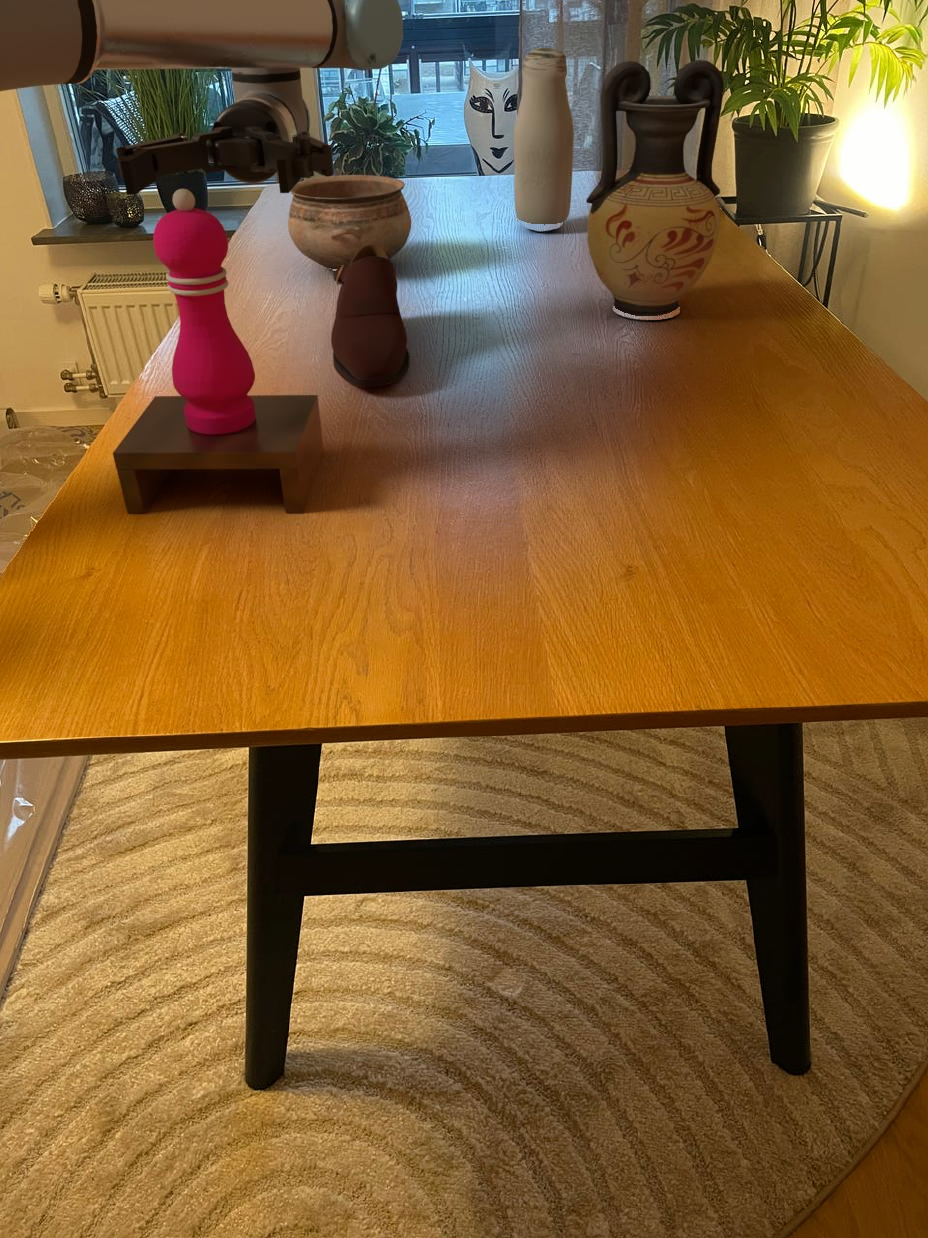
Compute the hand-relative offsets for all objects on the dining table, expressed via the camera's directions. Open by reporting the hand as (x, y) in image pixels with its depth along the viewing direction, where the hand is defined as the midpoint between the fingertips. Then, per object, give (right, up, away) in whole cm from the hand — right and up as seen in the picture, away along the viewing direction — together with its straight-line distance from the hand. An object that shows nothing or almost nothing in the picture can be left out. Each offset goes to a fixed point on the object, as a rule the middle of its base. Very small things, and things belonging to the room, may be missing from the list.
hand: (204, 177), depth 85 cm
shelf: (0, -25, +8) cm, 27 cm away
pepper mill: (0, -21, +5) cm, 21 cm away
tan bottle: (+36, +30, +88) cm, 100 cm away
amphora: (+48, +4, +49) cm, 68 cm away
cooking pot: (+5, +17, +69) cm, 71 cm away
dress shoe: (+11, -6, +36) cm, 38 cm away
